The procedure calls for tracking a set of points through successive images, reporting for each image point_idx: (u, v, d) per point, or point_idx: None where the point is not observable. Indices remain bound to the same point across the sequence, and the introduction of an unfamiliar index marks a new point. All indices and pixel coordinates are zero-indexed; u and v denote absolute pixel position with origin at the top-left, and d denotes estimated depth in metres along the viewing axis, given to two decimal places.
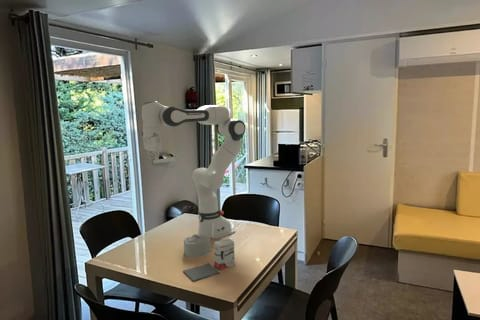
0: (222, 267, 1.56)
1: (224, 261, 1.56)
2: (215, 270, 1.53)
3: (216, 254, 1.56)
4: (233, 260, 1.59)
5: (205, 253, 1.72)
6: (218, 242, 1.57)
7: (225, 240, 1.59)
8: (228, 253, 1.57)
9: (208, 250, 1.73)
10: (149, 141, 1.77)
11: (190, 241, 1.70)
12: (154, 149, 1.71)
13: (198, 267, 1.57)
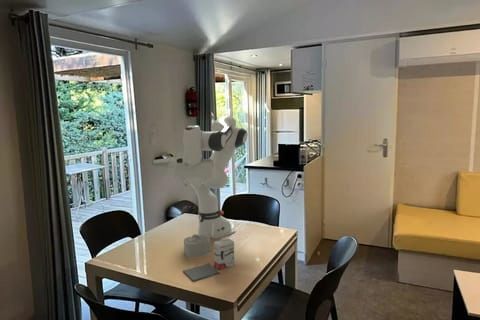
0: (222, 267, 1.56)
1: (224, 261, 1.56)
2: (215, 270, 1.53)
3: (216, 254, 1.56)
4: (233, 260, 1.59)
5: (205, 253, 1.72)
6: (218, 242, 1.57)
7: (225, 240, 1.59)
8: (228, 253, 1.57)
9: (208, 250, 1.73)
10: (192, 168, 1.66)
11: (190, 241, 1.70)
12: (208, 175, 1.65)
13: (198, 267, 1.57)
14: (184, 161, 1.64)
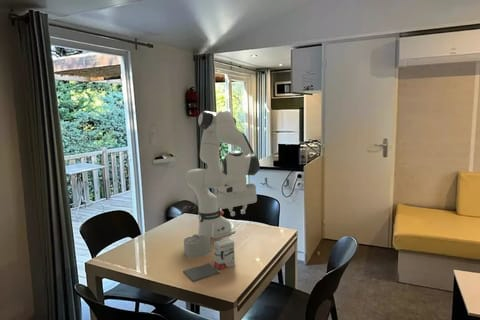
0: (222, 267, 1.56)
1: (224, 261, 1.56)
2: (215, 270, 1.53)
3: (216, 254, 1.56)
4: (233, 260, 1.59)
5: (205, 253, 1.72)
6: (218, 242, 1.57)
7: (225, 240, 1.59)
8: (228, 253, 1.57)
9: (208, 250, 1.73)
10: (238, 195, 1.57)
11: (190, 241, 1.70)
12: (253, 200, 1.62)
13: (198, 267, 1.57)
14: (235, 189, 1.54)
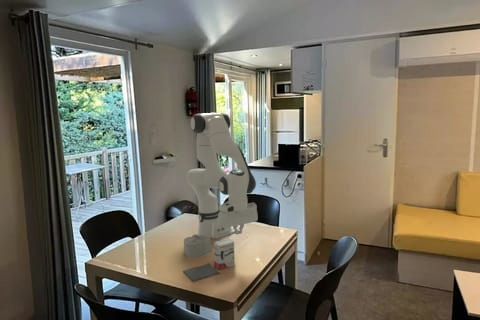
0: (222, 267, 1.56)
1: (224, 261, 1.56)
2: (215, 270, 1.53)
3: (216, 254, 1.56)
4: (233, 260, 1.59)
5: (205, 253, 1.72)
6: (218, 242, 1.57)
7: (225, 240, 1.59)
8: (228, 253, 1.57)
9: (208, 250, 1.73)
10: (239, 215, 1.59)
11: (190, 241, 1.70)
12: (254, 219, 1.63)
13: (198, 267, 1.57)
14: (236, 209, 1.55)
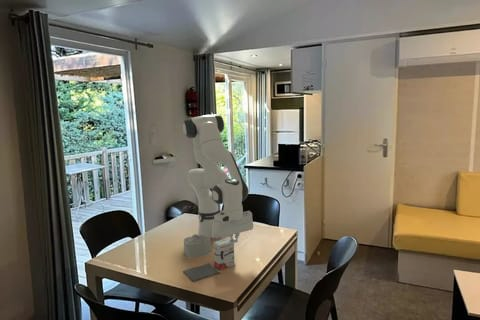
0: (222, 267, 1.56)
1: (224, 261, 1.56)
2: (215, 270, 1.53)
3: (216, 254, 1.56)
4: (233, 260, 1.59)
5: (205, 253, 1.72)
6: (218, 242, 1.57)
7: (225, 240, 1.59)
8: (227, 253, 1.57)
9: (208, 250, 1.73)
10: (234, 223, 1.58)
11: (190, 241, 1.70)
12: (250, 227, 1.62)
13: (198, 267, 1.57)
14: (231, 218, 1.54)
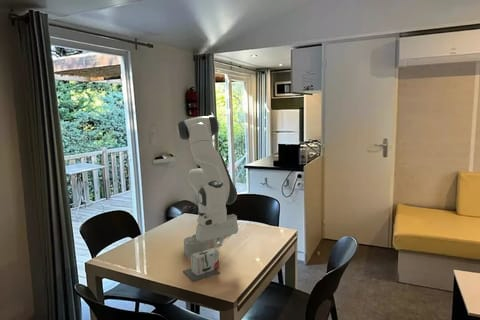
0: (217, 265, 1.54)
1: (212, 264, 1.53)
2: (215, 270, 1.53)
3: None
4: (214, 253, 1.53)
5: None
6: (193, 269, 1.51)
7: (192, 261, 1.50)
8: (206, 262, 1.51)
9: None
10: (218, 227, 1.53)
11: (190, 241, 1.70)
12: (234, 231, 1.58)
13: None
14: (214, 222, 1.50)
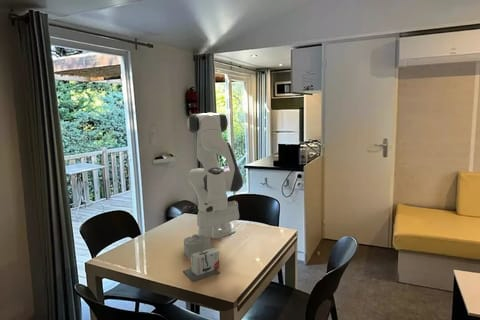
0: (218, 265, 1.54)
1: (212, 265, 1.53)
2: (215, 270, 1.53)
3: None
4: (214, 254, 1.53)
5: None
6: (193, 269, 1.51)
7: (192, 261, 1.50)
8: (206, 262, 1.51)
9: None
10: (219, 214, 1.53)
11: (190, 241, 1.70)
12: (235, 217, 1.58)
13: None
14: (215, 209, 1.49)
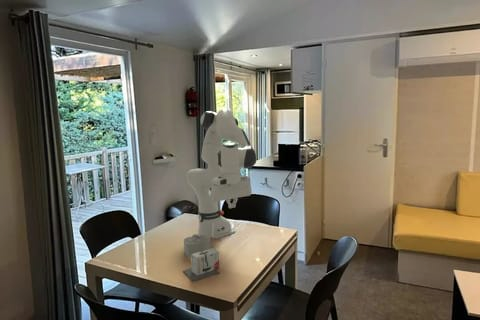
0: (218, 265, 1.54)
1: (212, 265, 1.53)
2: (215, 270, 1.53)
3: None
4: (214, 254, 1.53)
5: None
6: (193, 269, 1.51)
7: (192, 261, 1.50)
8: (206, 262, 1.51)
9: None
10: (232, 188, 1.55)
11: (190, 241, 1.70)
12: (248, 193, 1.60)
13: None
14: (229, 182, 1.51)
